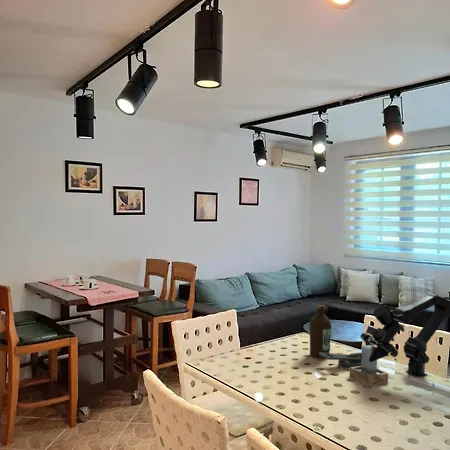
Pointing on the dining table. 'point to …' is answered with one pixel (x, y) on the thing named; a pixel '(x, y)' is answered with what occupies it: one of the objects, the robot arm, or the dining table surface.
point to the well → (368, 376)
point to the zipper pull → (344, 359)
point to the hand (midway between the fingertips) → (366, 359)
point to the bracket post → (368, 360)
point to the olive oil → (320, 334)
